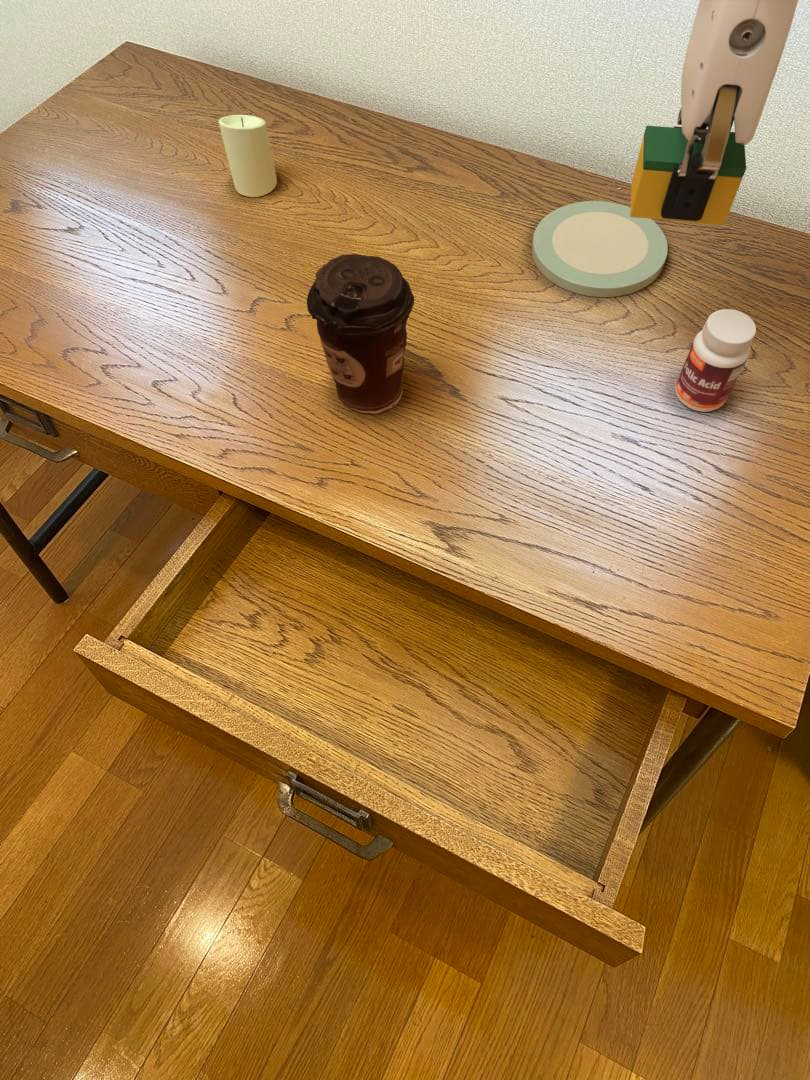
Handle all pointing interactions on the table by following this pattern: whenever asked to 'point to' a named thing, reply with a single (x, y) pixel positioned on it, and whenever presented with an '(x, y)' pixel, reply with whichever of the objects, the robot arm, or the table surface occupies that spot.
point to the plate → (599, 249)
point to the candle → (248, 154)
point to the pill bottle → (715, 360)
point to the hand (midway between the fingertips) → (680, 194)
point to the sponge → (665, 155)
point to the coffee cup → (362, 328)
